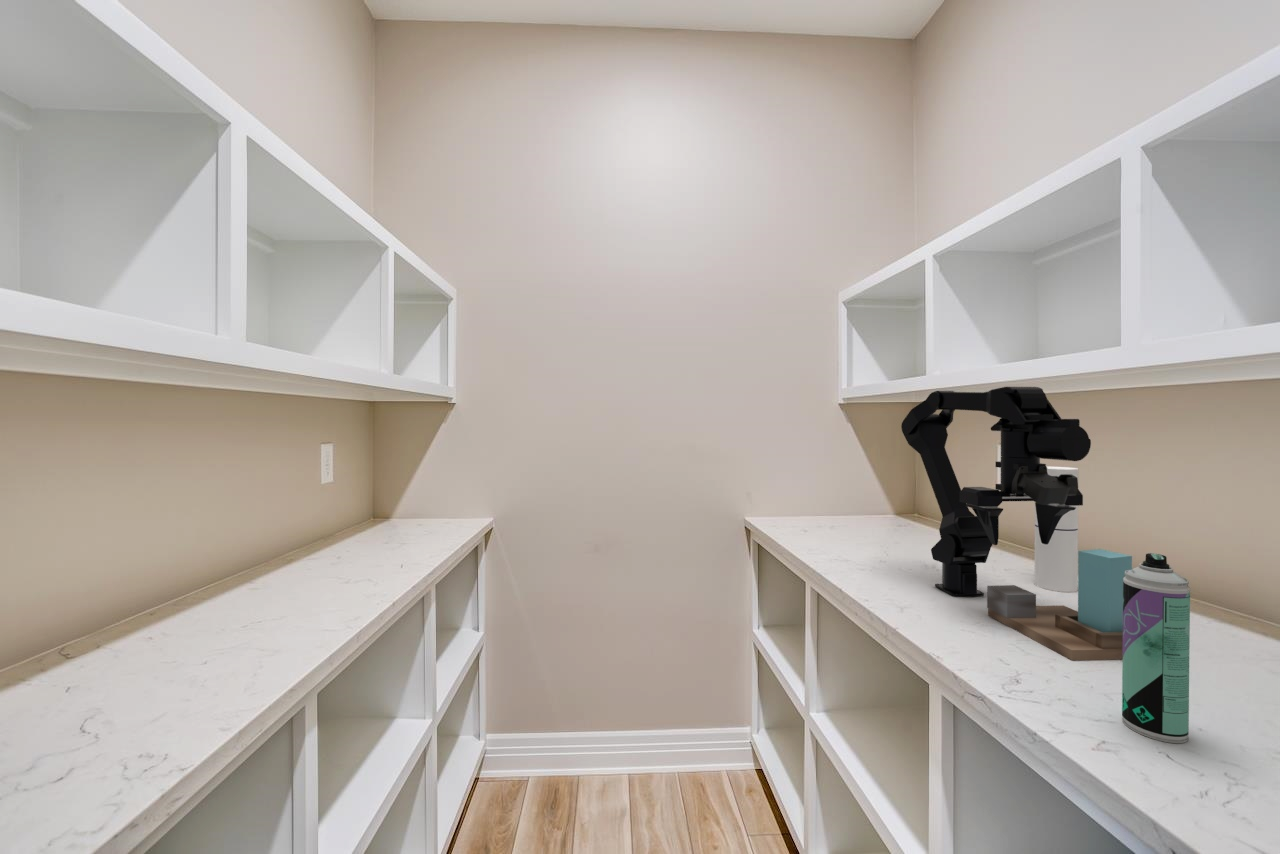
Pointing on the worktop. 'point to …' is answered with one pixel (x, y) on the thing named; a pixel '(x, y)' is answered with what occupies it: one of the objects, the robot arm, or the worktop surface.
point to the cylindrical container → (1058, 548)
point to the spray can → (1156, 651)
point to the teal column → (1101, 589)
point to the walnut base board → (1052, 625)
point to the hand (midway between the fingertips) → (1019, 544)
